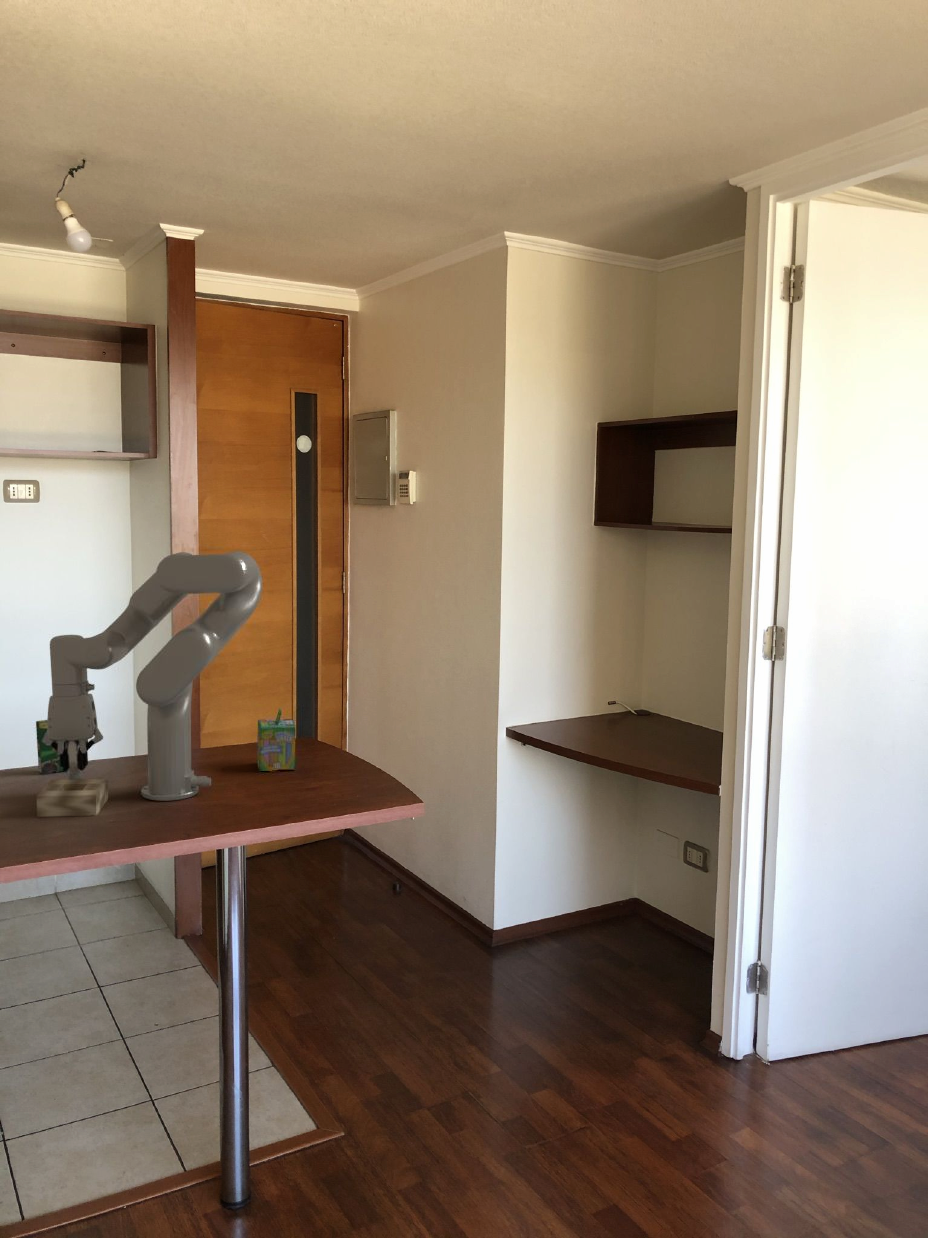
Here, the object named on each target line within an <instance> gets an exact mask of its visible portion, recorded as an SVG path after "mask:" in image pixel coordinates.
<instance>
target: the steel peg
mask: <svg viewBox="0 0 928 1238" xmlns="http://www.w3.org/2000/svg"><path fill="white" fill-rule="evenodd" d="M80 750H81V748H80V742H79V740H66V751H67V769H68V771H67V780H76V779H83V774H82V773H83V771H81V770H80V769H79V753H80Z"/></svg>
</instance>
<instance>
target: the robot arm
mask: <svg viewBox="0 0 928 1238" xmlns="http://www.w3.org/2000/svg"><path fill="white" fill-rule="evenodd" d="M262 591H263V576H262V572H261V570H260V567H259V565H258V563H257V562H256V560H255V559H254V558H253V557H252V556H251V555H250V554H248V553H247V552H244V551H240V550H236V551H234V550H233V551H230V552H227V553H219V554H218V553H217V554H215V553H214V554H192V553H189V552H183V551H182V552H177V553H172V554H169V555H167V556H165V557H164V558H163V559H161V561H160V562H159V563H158V565H157V567H156V570H155V572H154V573H153V574H152V575H151V576H150V577H149V578H148V579H147V580H146V581H145V582H144V583H143V584H141V586H139V587H138V588H137V589H136V590H135V591H134V592H133V593H132V595H130V598H129V601H128V604H127V606H126V608H125V609H124V610H123V612H122V613H121V614H120V615H119V616H118V617H117V618H116V619H115V620H114V621H113V622H112V623H111V624H110V625H109V626H108V627H107V628H106V629H105V630H103V631H102V632H101V633H98V634H96V635H93V636H90V637H83V635H79V634H62V635H61V634H60V635H56V636H53V637H52V638H51V639H50V642H49V656H50V657H49V658H50V659H49V660H50V673H51V674H50V675H51V676H50V677H51V693H52V695H50V696H49V698H48V699H49V700H48V706H47V719H46V720H47V732H46V734H45V736H44V738H43V740H42V742H43V743H45V744H47V745H50V746H52V747H53V748H54V749H55V750H56V751H57V752H58V754H60V766H61V767H63V772H68V771H67V770H68V769H67V751H66V740H79V742H80V748H81V750H80V753H79V769H80V770H81V771H82V772H83V771H84V770H85V769H86V768H87V767H88V764H89V757H88V756H89V753H88V751H89V750H90V749H91V748H92V747H93V746H95V744H97V743H99V742H100V743H101V741H103V739H104V736H103V734H102V732H101V731H100V729H99V728H98V720H97V719H98V716H97V709H96V704H95V700H94V697H93V693H89V692H90V691H94V690H95V689H96V688H95V684H94V683H90V682H89V680H88V669H89V670H98V671H99V670H105V669H107V668H109V667H111V666H113V665H114V664H116V663H118V662H120V661H121V660H122V659H124V658H125V657H126V656H127V655H128V654H129V653H130V652H131V651H132V650H133V649H134V648H135V647H136V646H138V644H140V642H141V641H142V640H143V639H144V638H145V637H146V636H147V635H148V634H150V632H152V630H153V629H154V628H155V627H157V626H158V625H159V624H160V623H161V622H162V621H163V620H164V619H165V617H167V615H169V614H170V613H171V611H172V610H174V609H175V608H176V606H178V605H179V604H180V603H181V602H182V600H184V599H185V598H186V597H187V596H188V595H194V594H219V595H218V596H217V597H216V598H215V599H214V600H213V601H212V602H211V603H210V604H209V606H208V607H206V609H205V610H204V611H203V612H202V614H200V615H199V617H198V618H196V619H195V620H194V621H193V622H192V623H191V624H189V625H187V626H186V627H184V628H183V629H180V630H179V631H178V632H176V634H175V635H173V636H172V638H171V639H170V640H168V641H167V643H166V644H165V645H164V646H163V647H162V648H161V649H160V650H159V651H158V652H157V654H156V655H154V657H152V659H151V660H149V662H148V663H147V664H146V665H145V666H144V668H142V670H141V671H140V673H139V674H138V676H137V678H136V683H135V689H136V693H137V695H138V697H139V699H140V700H141V701H142V702H143V703H144V704H146V705H147V711H146V713H147V714H146V715H147V717H146V719H147V721H146V722H147V723H146V724H147V725H146V726H147V729H146V731H147V732H146V733H147V735H146V738H147V741H146V742H147V783H148V784H146V785H145V786H143V787H142V788H141V791H140V794H141V796H142V797H143V798H144V799H146V800H150V801H161V802H166V801H168V802H169V801H178V800H183V799H188V798H191V797H193V796H195V795H197V794H198V793H199V787H200V786H201V787H211V786H212V778H211V777H208V776H207V775H199V776H197V775H196V774H195V769H192V745H191V744H192V737H191V734H192V733H191V732H192V730H191V729H192V727H191V726H192V720H191V719H192V716H191V715H192V697H193V696H192V694H193V682H194V680H195V679H196V678H197V677H198V676H199V675H200V674H201V673H202V672H203V671H204V670H205V668H207V666H208V665H210V664H211V663H212V662H214V661H215V660H216V658H217V657H218V655H219V654H220V652H221V651H222V650H223V649H224V647H225V646H226V645H227V644H228V643H230V641H231V640H232V638H233V637H234V636H235V635H236V634H237V633H238V632H239V630H240V629H241V628H242V627H243V626H244V625H245V624H246V623H247V621H248V620H249V619H250V617H251V616H252V615H253V613H254V612H255V611H256V609H257V607H258V605H259V603H260V600H261V596H262V593H263V592H262Z"/></svg>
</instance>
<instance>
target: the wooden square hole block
mask: <svg viewBox="0 0 928 1238" xmlns="http://www.w3.org/2000/svg"><path fill="white" fill-rule="evenodd" d="M108 799H109V779H108V778H87V779H83V778H82V779H76V780H68V779H51V780H50V781H49V782H48V783H47V785H45V787H44V788H42V790H40V792H39V793H38V794H37V795H36V817H37V818H38V817H39V818H40V817H41V818H43V817H45V818H46V817H83V816H84V817H85V816H87V817H88V816H89V817H91V816H92V815H93V816H97V815H98V814H99V813H100V812H101V809H102V808H103V807H104V805H105V804H106V802H108Z"/></svg>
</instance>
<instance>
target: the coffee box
mask: <svg viewBox="0 0 928 1238" xmlns="http://www.w3.org/2000/svg"><path fill="white" fill-rule="evenodd" d="M35 729H36V730H35V733H36V744H37V746H36V748H37V763H38V764H37V765H38V773H39V774H40V775H42V774H43V775H49V774H48V773H50V774H54V773H53V772H56V773H62V772H64V771H63V767H61V766H60V754H58V752H57V751H56V750H55V749H54V748H53V747H52V746H50V745H47V744H45V743H43V742H42V740H43V738H44V736H45V734H46V732H47V719H43V720H36V721H35ZM66 772H68V770H67V771H66Z"/></svg>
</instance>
